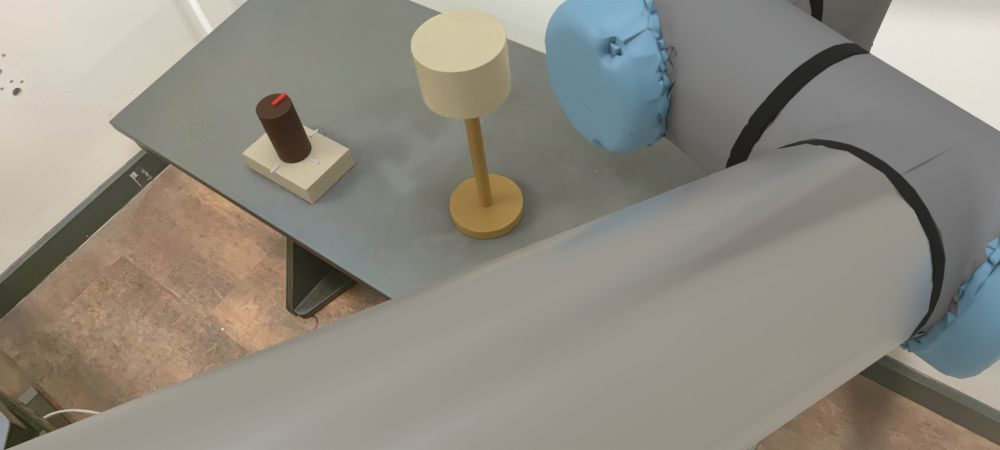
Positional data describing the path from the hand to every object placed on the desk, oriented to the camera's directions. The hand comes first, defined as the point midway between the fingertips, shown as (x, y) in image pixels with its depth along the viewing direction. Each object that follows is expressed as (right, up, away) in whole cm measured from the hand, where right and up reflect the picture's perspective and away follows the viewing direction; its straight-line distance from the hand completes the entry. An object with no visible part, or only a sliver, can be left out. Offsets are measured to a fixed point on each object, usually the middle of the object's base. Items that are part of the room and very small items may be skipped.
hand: (716, 295), depth 62 cm
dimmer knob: (-46, +16, +29) cm, 56 cm away
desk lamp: (-21, +8, +24) cm, 33 cm away
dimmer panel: (-46, +14, +31) cm, 57 cm away
